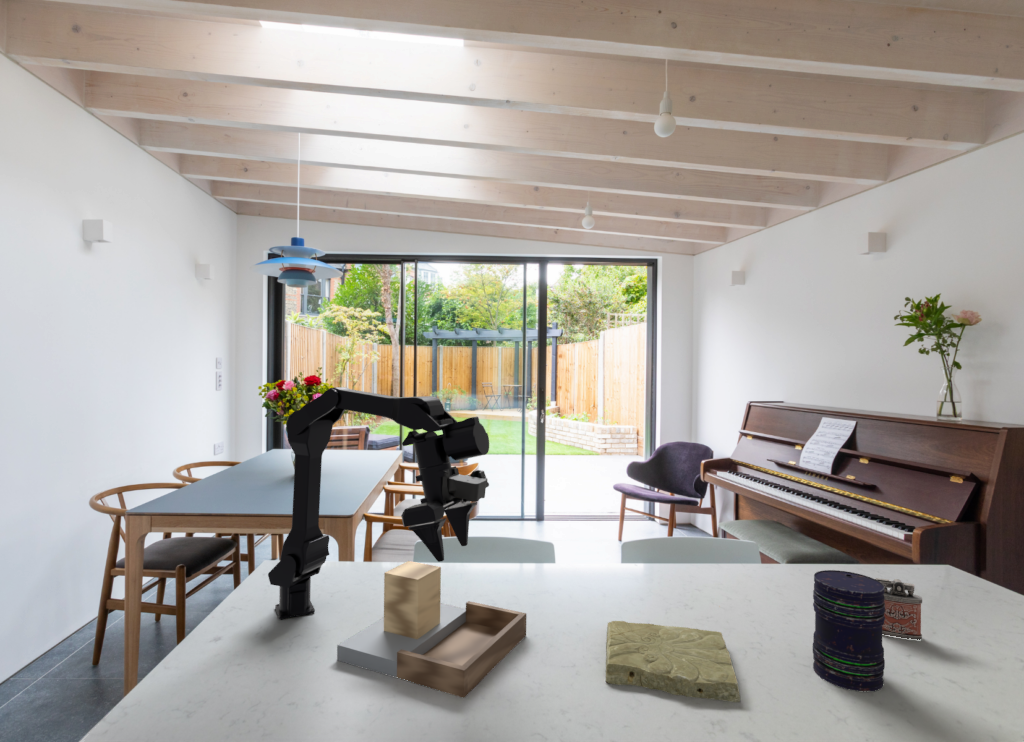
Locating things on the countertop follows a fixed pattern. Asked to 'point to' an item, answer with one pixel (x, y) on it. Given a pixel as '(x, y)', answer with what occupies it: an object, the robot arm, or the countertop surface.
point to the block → (412, 599)
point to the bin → (465, 651)
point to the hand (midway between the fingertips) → (453, 553)
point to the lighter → (901, 610)
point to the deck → (395, 642)
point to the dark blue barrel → (848, 630)
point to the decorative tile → (670, 660)
